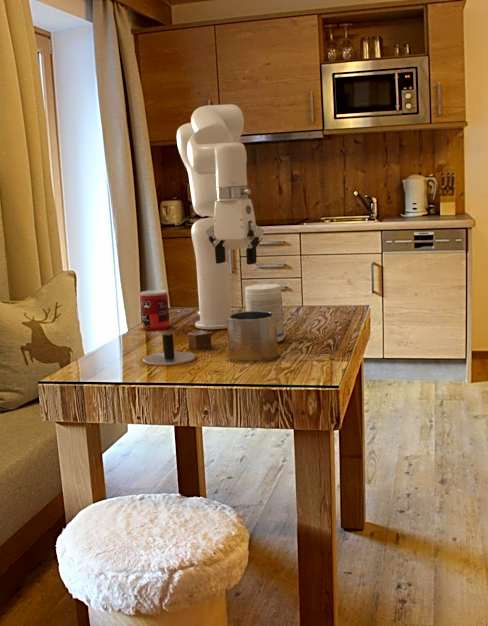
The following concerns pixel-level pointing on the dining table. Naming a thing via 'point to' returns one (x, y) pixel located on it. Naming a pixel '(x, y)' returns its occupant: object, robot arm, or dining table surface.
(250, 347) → the steel jar
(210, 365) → the dining table surface
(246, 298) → the supplement tub
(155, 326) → the canned food
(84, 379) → the dining table surface
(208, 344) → the walnut block
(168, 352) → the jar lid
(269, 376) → the dining table surface
